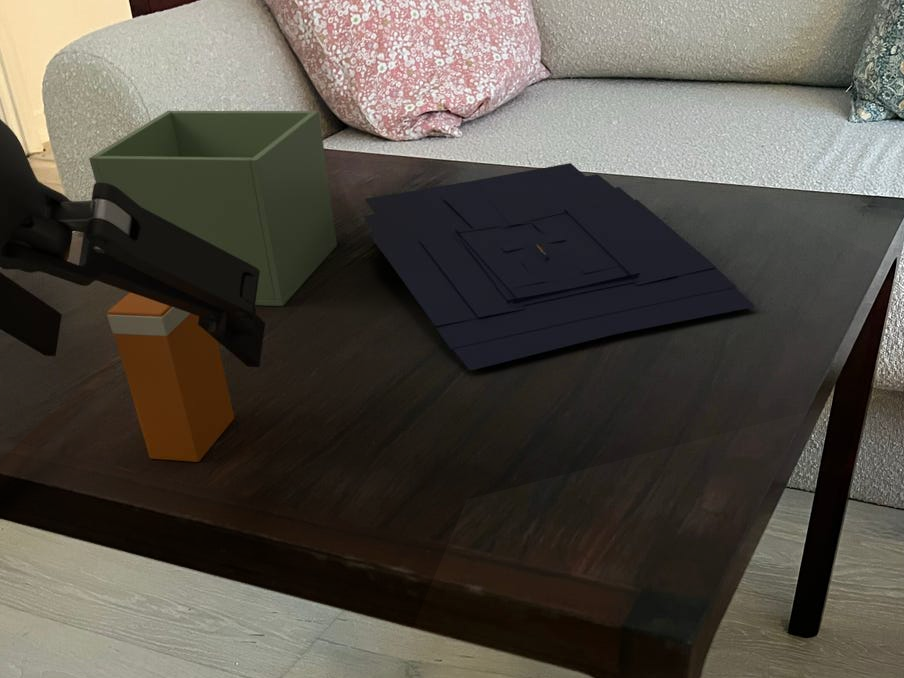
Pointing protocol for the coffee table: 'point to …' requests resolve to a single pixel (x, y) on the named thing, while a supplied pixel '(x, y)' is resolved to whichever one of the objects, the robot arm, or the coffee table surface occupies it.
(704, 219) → the coffee table surface
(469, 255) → the folded navy cloth
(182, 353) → the block
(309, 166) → the bin
